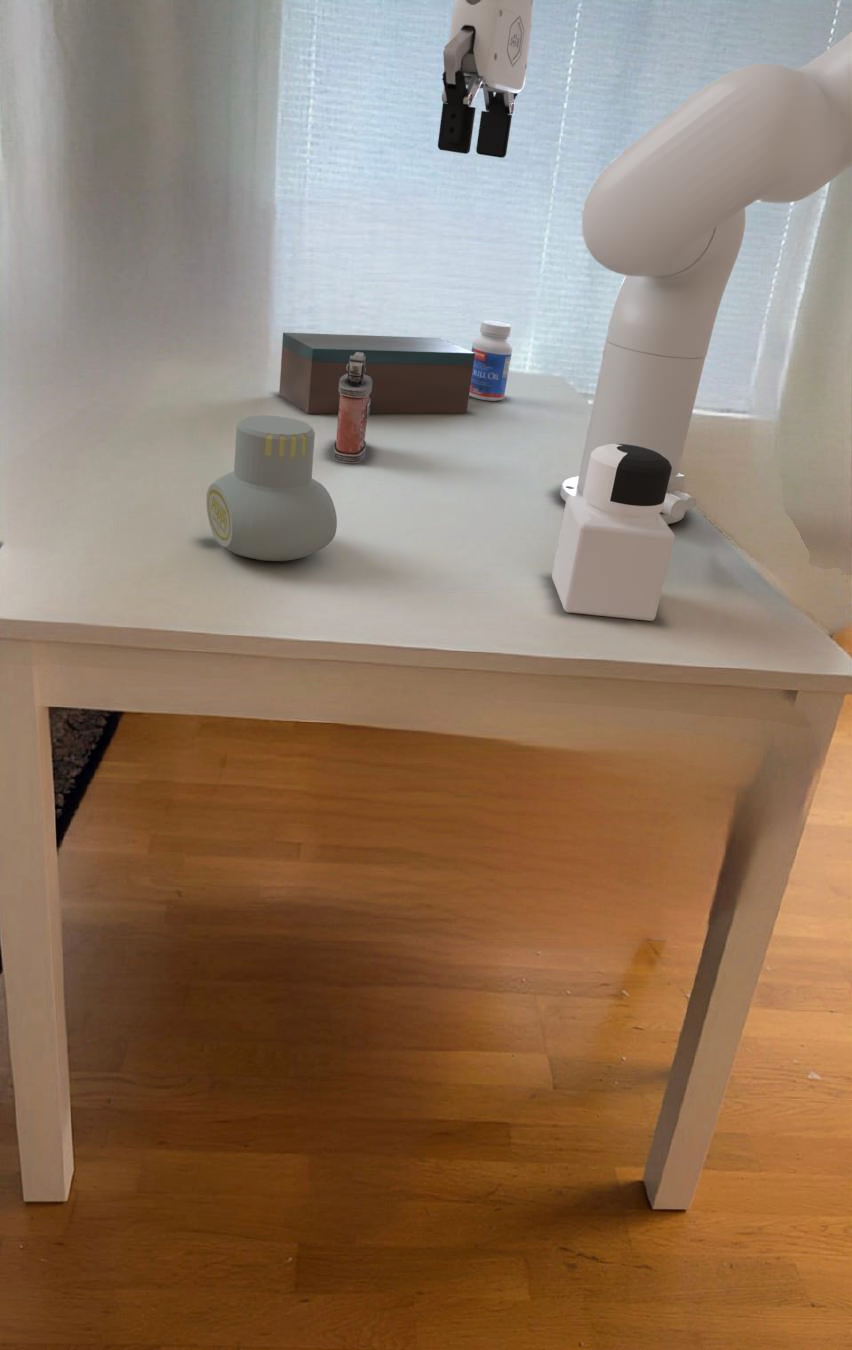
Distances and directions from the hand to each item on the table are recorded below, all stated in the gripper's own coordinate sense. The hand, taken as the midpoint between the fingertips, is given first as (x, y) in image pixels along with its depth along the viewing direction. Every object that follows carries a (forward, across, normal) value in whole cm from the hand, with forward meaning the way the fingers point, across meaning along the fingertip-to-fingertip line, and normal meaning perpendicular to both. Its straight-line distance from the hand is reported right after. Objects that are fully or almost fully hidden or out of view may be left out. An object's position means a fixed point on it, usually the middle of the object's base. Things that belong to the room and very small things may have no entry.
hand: (472, 154), depth 107 cm
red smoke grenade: (+30, -11, +5) cm, 32 cm away
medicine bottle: (+30, -32, -29) cm, 53 cm away
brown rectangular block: (+30, +11, +13) cm, 34 cm away
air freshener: (+30, -41, -4) cm, 51 cm away
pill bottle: (+30, +29, +5) cm, 42 cm away
